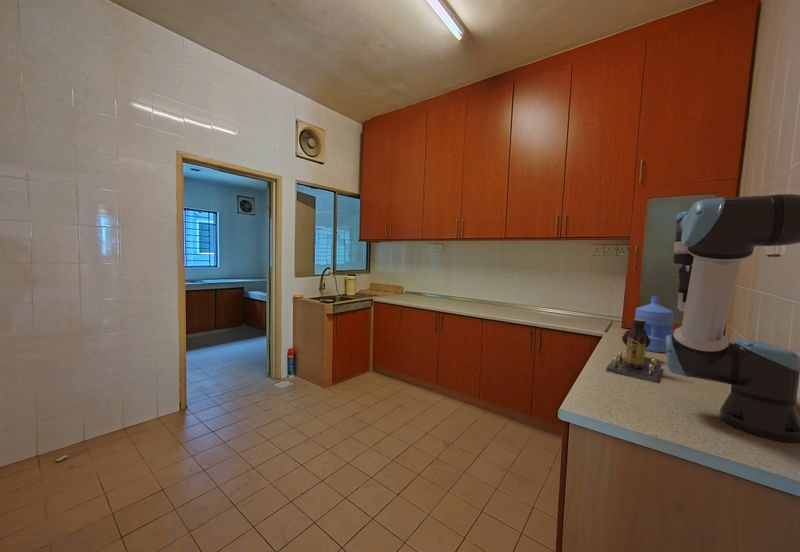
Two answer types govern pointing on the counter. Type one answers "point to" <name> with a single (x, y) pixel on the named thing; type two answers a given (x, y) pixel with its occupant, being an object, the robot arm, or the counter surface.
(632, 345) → the sauce bottle
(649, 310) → the water jug
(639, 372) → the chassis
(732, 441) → the counter surface
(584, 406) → the counter surface
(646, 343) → the ice cream bowl
